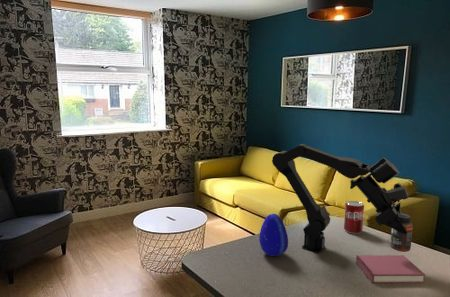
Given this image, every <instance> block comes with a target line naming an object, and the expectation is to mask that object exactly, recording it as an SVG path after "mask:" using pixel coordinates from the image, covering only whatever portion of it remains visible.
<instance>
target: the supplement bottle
mask: <svg viewBox="0 0 450 297" xmlns="http://www.w3.org/2000/svg"><path fill="white" fill-rule="evenodd" d="M398 218H399V220H400V221H401V223H402V224H403V226H404V227H405V229H406V231H407V232H408V233H407V234H403V233H401V232H399V231H397V230H395V229H393V228H391V232H390V244H389V246H390V248H391V249H392V250H394V251H397V252H402V253H407V252H410V251H411V249H412V248H411V247H412V236H413V230H414V227H413V223H412V222H411V216H410V215H408V214H406V213H402V214H399V215H398Z"/></svg>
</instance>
